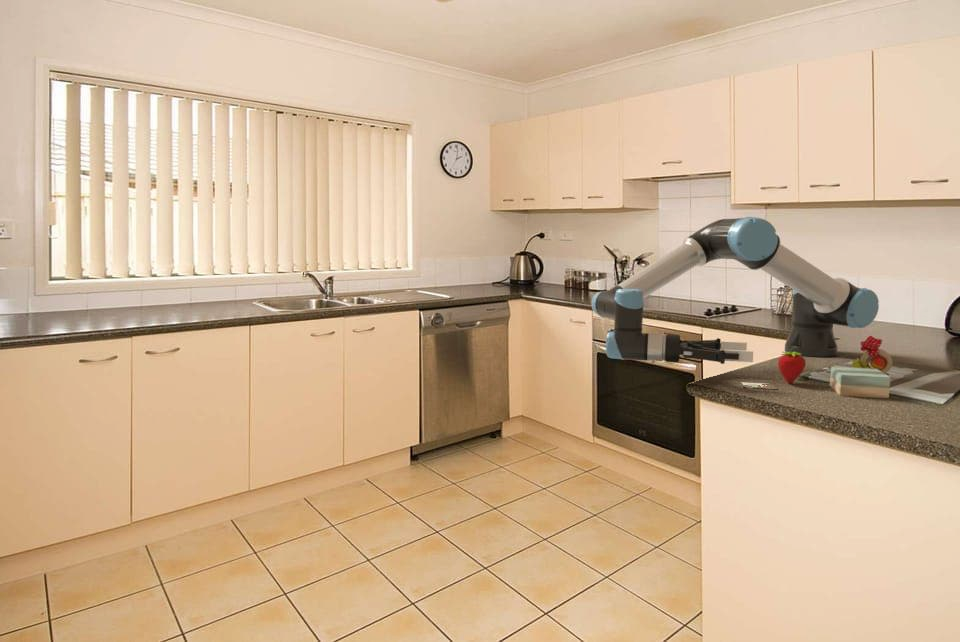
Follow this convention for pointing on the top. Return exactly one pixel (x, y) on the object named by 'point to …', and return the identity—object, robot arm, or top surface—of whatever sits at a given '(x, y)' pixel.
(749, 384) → the page
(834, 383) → the base brick
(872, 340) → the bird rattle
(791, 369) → the strawberry
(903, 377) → the top surface
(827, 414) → the top surface
